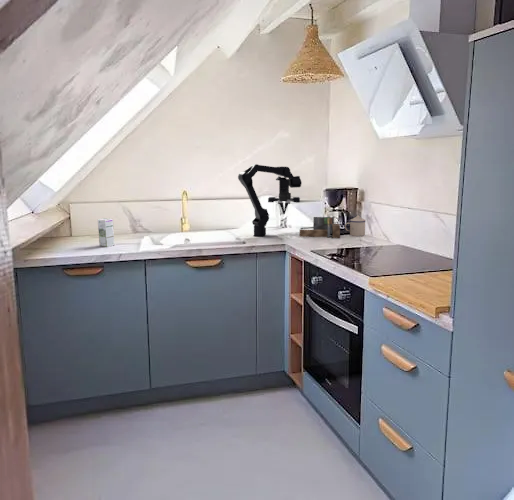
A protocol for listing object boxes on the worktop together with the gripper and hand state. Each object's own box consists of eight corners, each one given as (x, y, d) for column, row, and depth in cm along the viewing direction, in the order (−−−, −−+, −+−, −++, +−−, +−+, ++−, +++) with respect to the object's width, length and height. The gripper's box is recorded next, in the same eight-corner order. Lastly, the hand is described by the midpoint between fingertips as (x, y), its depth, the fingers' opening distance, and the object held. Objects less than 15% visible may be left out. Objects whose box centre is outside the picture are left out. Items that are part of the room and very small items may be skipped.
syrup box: (115, 245, 268) (113, 218, 265) (106, 247, 263) (104, 219, 260) (107, 244, 270) (105, 217, 268) (99, 246, 265) (97, 219, 263)
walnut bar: (299, 237, 292) (299, 230, 291) (299, 236, 296) (299, 229, 295) (327, 237, 290) (327, 230, 290) (326, 236, 294) (326, 229, 294)
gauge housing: (313, 237, 287) (313, 220, 285) (313, 233, 304) (313, 217, 302) (339, 238, 285) (340, 220, 284) (338, 233, 302) (338, 217, 300)
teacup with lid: (365, 234, 299) (365, 214, 297) (365, 236, 290) (365, 216, 288) (344, 233, 302) (345, 214, 300) (344, 236, 293) (344, 216, 291)
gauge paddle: (327, 236, 287) (327, 221, 285) (327, 233, 301) (327, 218, 300) (329, 236, 287) (330, 221, 285) (329, 233, 301) (329, 218, 299)
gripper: (267, 188, 291) (267, 215, 294) (299, 188, 289) (299, 215, 292) (268, 187, 302) (269, 213, 305) (300, 187, 300) (299, 213, 303)
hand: (284, 214), depth 301 cm, fingers closed
